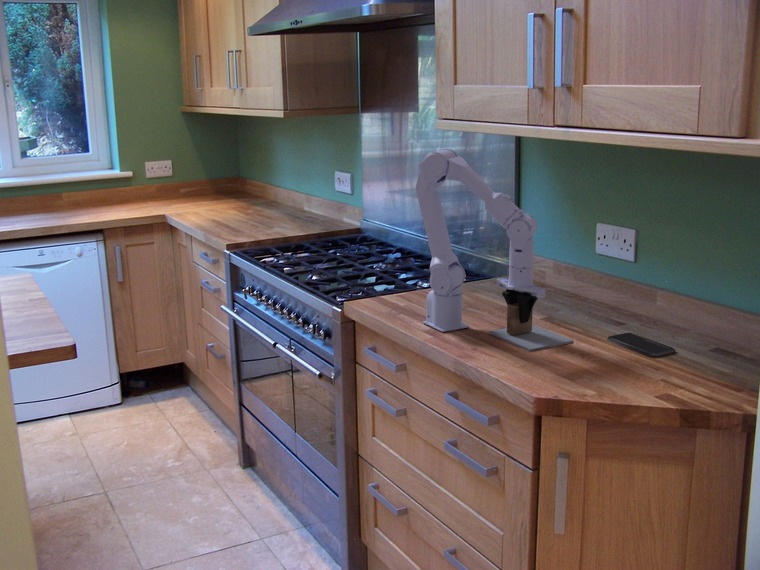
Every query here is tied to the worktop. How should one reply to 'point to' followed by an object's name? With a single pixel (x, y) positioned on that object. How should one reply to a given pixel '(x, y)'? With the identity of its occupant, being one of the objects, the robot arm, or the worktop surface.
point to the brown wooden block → (517, 321)
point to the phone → (641, 345)
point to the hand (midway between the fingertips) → (519, 320)
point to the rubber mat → (532, 338)
